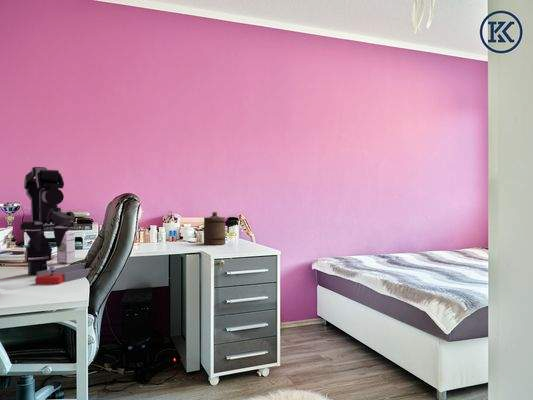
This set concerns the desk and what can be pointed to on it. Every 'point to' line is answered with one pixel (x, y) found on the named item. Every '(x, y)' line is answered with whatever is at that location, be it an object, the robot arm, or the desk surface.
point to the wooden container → (214, 230)
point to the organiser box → (69, 272)
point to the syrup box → (67, 249)
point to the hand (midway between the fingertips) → (48, 248)
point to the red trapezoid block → (50, 277)
